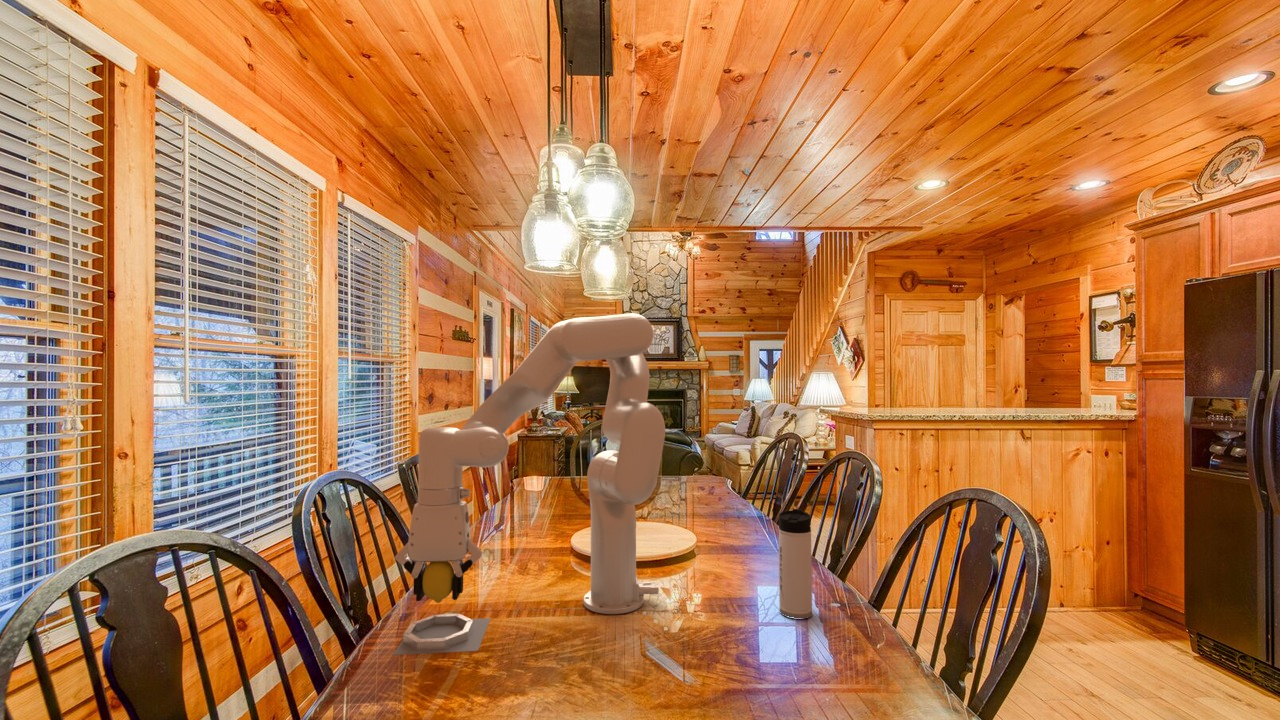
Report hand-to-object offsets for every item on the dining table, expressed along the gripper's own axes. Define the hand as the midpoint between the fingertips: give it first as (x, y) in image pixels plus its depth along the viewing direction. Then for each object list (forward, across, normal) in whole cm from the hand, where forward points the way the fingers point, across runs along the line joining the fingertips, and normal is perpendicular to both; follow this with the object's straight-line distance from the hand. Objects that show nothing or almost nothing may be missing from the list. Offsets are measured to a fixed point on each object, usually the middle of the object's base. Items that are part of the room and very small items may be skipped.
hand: (438, 596), depth 101 cm
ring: (+7, 0, 0) cm, 7 cm away
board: (+8, -1, 0) cm, 8 cm away
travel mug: (+7, -68, -5) cm, 69 cm away
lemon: (+1, 0, 0) cm, 1 cm away
